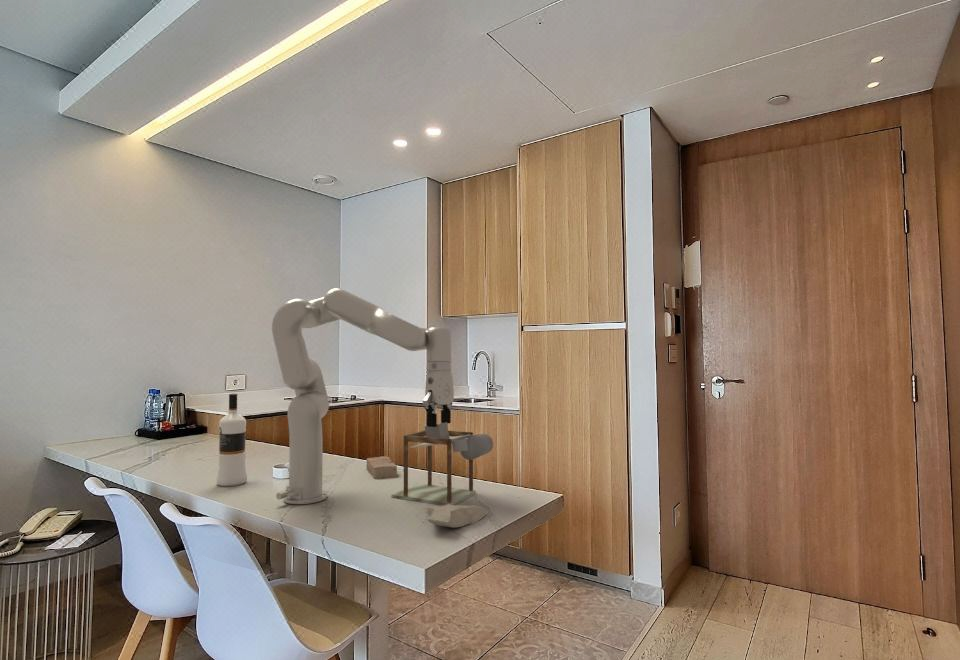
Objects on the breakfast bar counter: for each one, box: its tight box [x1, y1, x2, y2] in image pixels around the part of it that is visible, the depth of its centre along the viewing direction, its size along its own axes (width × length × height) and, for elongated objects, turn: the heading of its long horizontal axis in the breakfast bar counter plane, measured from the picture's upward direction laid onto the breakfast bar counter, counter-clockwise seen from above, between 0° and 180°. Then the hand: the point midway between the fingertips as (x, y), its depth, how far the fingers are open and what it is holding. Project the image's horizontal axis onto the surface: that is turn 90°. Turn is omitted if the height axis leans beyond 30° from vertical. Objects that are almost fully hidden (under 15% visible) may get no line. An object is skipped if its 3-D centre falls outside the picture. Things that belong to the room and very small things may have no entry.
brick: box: [365, 455, 398, 480], centre depth 192 cm, size 17×8×5 cm, turn 22°
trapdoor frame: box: [390, 429, 476, 506], centre depth 162 cm, size 21×15×19 cm
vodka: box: [216, 393, 248, 487], centre depth 178 cm, size 9×9×30 cm
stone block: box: [424, 422, 450, 439], centre depth 162 cm, size 5×5×5 cm
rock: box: [426, 504, 489, 528], centre depth 137 cm, size 21×5×15 cm
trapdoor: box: [409, 433, 494, 461], centre depth 160 cm, size 22×12×6 cm, turn 64°
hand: (438, 424), depth 162 cm, fingers open, 7 cm apart
